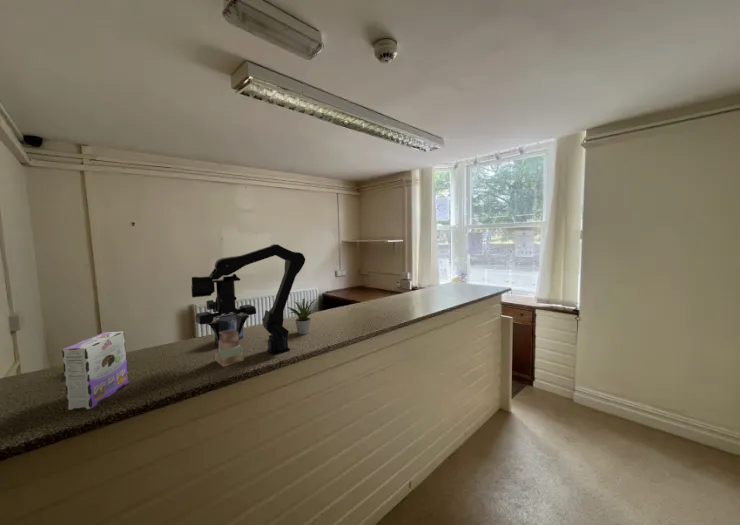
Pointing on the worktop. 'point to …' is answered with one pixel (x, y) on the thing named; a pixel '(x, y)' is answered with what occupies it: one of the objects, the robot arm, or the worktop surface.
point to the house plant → (302, 317)
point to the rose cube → (228, 339)
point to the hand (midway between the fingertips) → (228, 337)
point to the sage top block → (230, 352)
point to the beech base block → (228, 359)
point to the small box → (227, 326)
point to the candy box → (95, 369)
